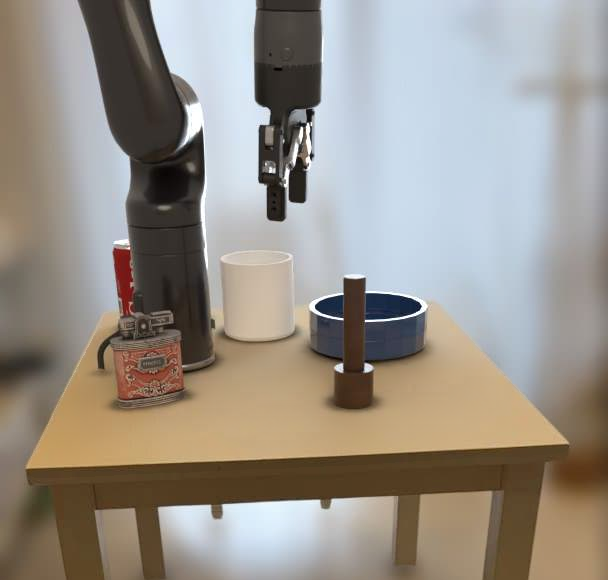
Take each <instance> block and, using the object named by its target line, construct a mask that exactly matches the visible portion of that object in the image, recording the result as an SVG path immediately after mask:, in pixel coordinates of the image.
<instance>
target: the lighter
mask: <svg viewBox="0 0 608 580" xmlns="http://www.w3.org/2000/svg"><path fill="white" fill-rule="evenodd" d="M117 322H118V323H119V329H120V331H121V334H122V336H120V337H115V338H112V339H111V340H110V345H109V346H110V348H111V349H112V355H113V362H114V370H115V378H116V380H115V381H116V387H117V394H118V395H117V397H116V399H117V406H118V407H119V408H121V409H134V408H135V409H136V408H142V407H150V406H156V405H161V404H165V403H170V402H174V401H177V400H182V399H184V398H186V397H187V391H186V386H184V385H185V384H184V374H183V373H184V371H182V360H181V349H180V340H181V332H180V331H179V330H174V329H168V330H163V326H162V325H163V324H170V323H173V313H171V311H161V312H154V313H151V315H144V314H143V313H141V312H136V313H134V314H133V317H130V318H123V319H120V318H119V319H118V321H117ZM151 326H156V331H152V327H151ZM130 329H131V330H130ZM129 330H130V332H129ZM129 333H130V335H129Z"/></svg>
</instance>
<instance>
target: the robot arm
mask: <svg viewBox="0 0 608 580" xmlns="http://www.w3.org/2000/svg"><path fill="white" fill-rule="evenodd" d="M76 1H77V4H78V7H79V9H80V12H81V15H82V18H83V22H84V25H85V28H86V31H87V34H88V38H89V42H90V46H91V51H92V55H93V60H94V64H95V70H96V74H97V79H98V84H99V88H100V89H99V90H100V94H101V98H102V99H101V100H102V103H103V104H102V105H103V109H104V113H105V118H106V121H107V125H108V128H109V131H110V134H111V136H112V138H113V140H114V142H115V143H116V144H117V146H118V147H119V149H120V150H121V151H122V152H123V153H124V154H125V155H126V156H127V157H129V169H130V170H129V171H130V179H129V180H130V181H129V188H128V192H127V195H126V198H125V202H124V203H125V204H124V206H125V217H126V223H127V225H126V227H127V234H128V239H129V245H130V254H131V263H132V272H133V281H134V291H133V293H132V299H133V308H134V313H136V312H141V313H143V314H144V315H151V313H154V312H161V311H171V313H173V323H170V324H163V325H162V326H163V330H168V329H174V330H179V331H180V332H181V340H180V349H181V360H182V372H191V371H195V370H199V369H203V368H205V367H208V366H210V365H212V364H213V363H214V362H215V361H216V360H215V359H216V355H215V351H214V348H215V347H214V339H213V330H216V320H215V319H213V318H212V309H211V294H210V281H209V280H210V279H209V265H208V251H207V237H206V236H207V235H206V223H205V199H206V193H207V168H206V148H205V144H206V143H205V129H204V118H203V111H202V107H201V103H200V100H199V98H198V96H197V93H196V92H195V90H194V89H193V87H192V86H191V85H190V83H188V82H187V80H185V79H184V78H182V77H181V76H179V75H178V74H175V73H173V72H171V70H170V67H169V65H168V62H167V59H166V57H165V53H164V51H163V48H162V47H163V46H162V44H161V40H160V37H159V34H158V32H157V27H156V24H155V20H154V14H153V10H152V3H151V0H76ZM322 9H323V0H255V17H254V18H255V19H254V24H253V25H254V27H253V86H254V102H255V104H256V105H257V106H259V107H261V108H266V109H268V110H269V112H270V114H269V121H268V124H259V126H258V129H257V132H258V144H257V145H258V153H257V155H258V159H257V160H258V161H257V163H258V164H257V165H258V169H257V181H258V184H259V185H260V184H261V185H263V186H264V187H266V191H265V192H266V219H267V220H268V221H270V222H280V223H282V222H284V221H286V219H287V216H288V215H287V213H288V211H287V210H288V201H289V202H290V203H293V204H305V203H306V202H307V201H308V183H309V182H308V181H309V179H308V178H309V177H308V176H309V170H310V168H311V165H312V164H311V162H314V160H315V157H316V154H315V143H316V142H315V140H316V139H315V138H316V137H315V135H316V133H315V132H316V131H315V129H316V128H315V125H316V123H315V122H316V118H315V117H316V110H315V108H318V107H319V106H320V105H321V104H322V102H323V76H324V75H323V74H324V73H323V70H324V24H323V10H322ZM274 169H275V170H274ZM273 170H274V172H273ZM287 186H288V187H287ZM130 317H133V315H122V317H121V319H123V318H130ZM151 327H152V331H156V326H151ZM117 329H118V330H116V331H115V332H114V333H113V334H111V335H109V336H108V337H106V338H105V339H104V340H103V342H101V344H100V345H99V347H98V349H97V355H96V361H97V369H98V370H105V366H106V365H105V351H106V350H107V348H108V347H109V346H111V345H110V340H111V339H112V338H115V337H120V336H122V334H121V331H120V329H119V322H118V324H117ZM130 330H131V329H130ZM130 330H129V332H130ZM129 335H130V333H129Z"/></svg>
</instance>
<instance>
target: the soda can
mask: <svg viewBox="0 0 608 580" xmlns="http://www.w3.org/2000/svg"><path fill="white" fill-rule="evenodd" d="M113 244H114V246H113V249H112V252H111V253H112V260H113V261H112V262H113V268H114V278H115V287H116V294H117V303H118V310H119V319H121V317H122V315H133V314H134V308H133V299H132V293H133V291H134V281H133V272H132V263H131V254H130V245H129V238H124V239H118V240H114V242H113Z"/></svg>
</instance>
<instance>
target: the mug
mask: <svg viewBox="0 0 608 580" xmlns="http://www.w3.org/2000/svg"><path fill="white" fill-rule="evenodd" d="M219 265H220V282H221V297H222V313H223V326H224V327H223V329H224V334H225V335H226V336H227V337H229V338H231V339H233V340H237V341H241V342H270V341H277V340H282V339H285V338H287V337H289V336H291V335H292V334H294V332H295V330H296V322H295V321H296V320H295V280H294V279H295V277H294V256H293V255H292V253H289V252H286V251H279V250H268V249H267V250H265V249H264V250H263V249H262V250H261V249H260V250H259V249H256V250H255V249H254V250H243V251H236V252H231V253H227V254H224V255H222V256H221V257H220V258H219Z"/></svg>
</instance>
